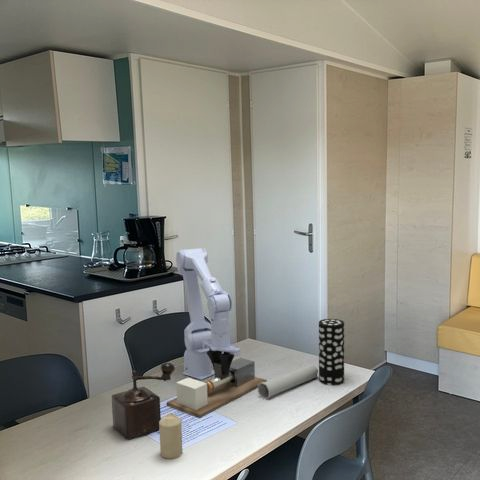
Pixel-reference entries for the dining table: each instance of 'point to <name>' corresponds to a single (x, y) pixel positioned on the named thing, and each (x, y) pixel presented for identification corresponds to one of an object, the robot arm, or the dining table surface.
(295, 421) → the dining table surface
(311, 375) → the tube
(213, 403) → the base board
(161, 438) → the candle
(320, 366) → the white-spotted black cylinder
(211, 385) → the inner tube
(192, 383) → the cream rectangular block
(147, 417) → the manual coffee grinder
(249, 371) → the sleeve
